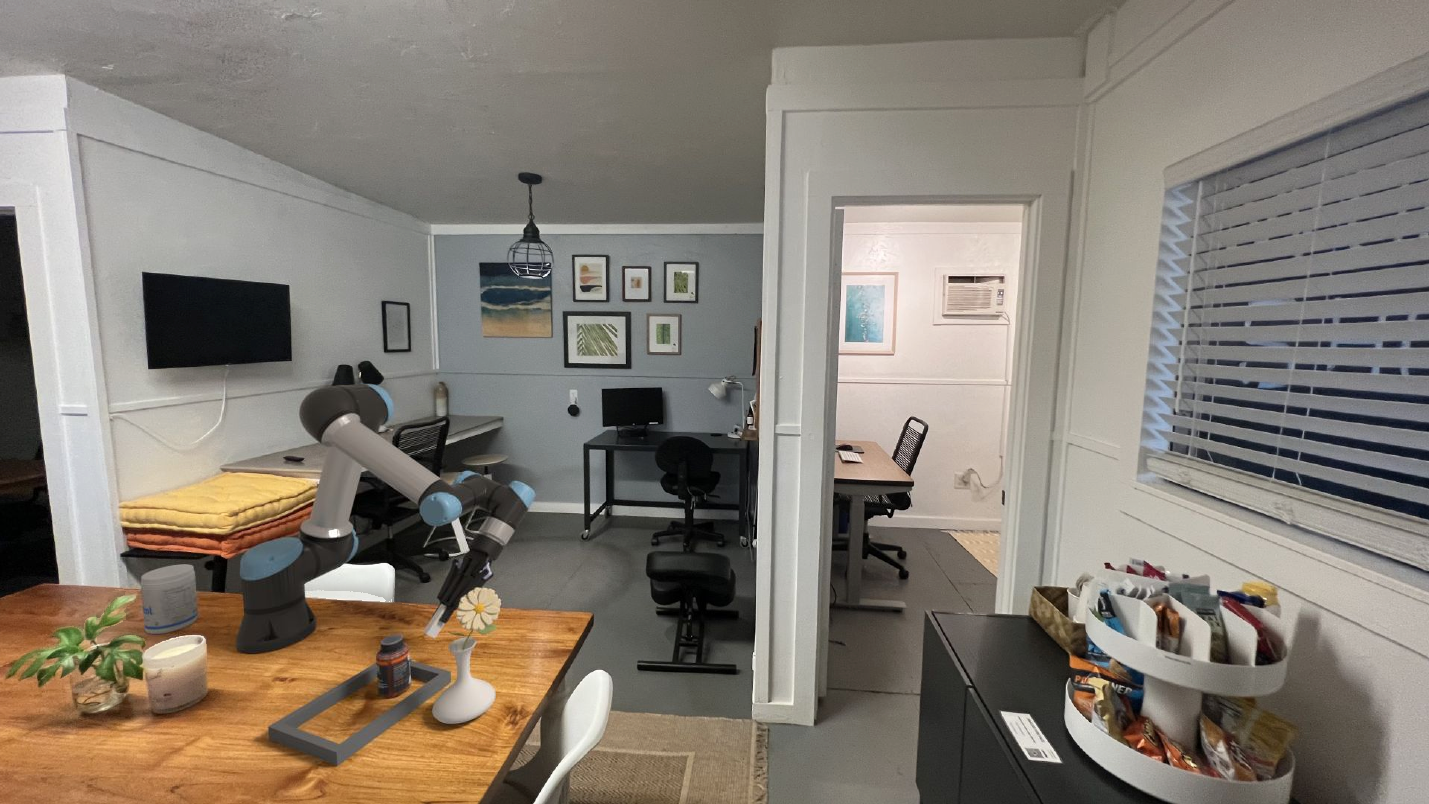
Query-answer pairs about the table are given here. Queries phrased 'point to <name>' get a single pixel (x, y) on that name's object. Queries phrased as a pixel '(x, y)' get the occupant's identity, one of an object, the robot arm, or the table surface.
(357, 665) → the table surface
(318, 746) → the corral
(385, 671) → the supplement bottle
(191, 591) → the supplement tub
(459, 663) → the flower in vase
